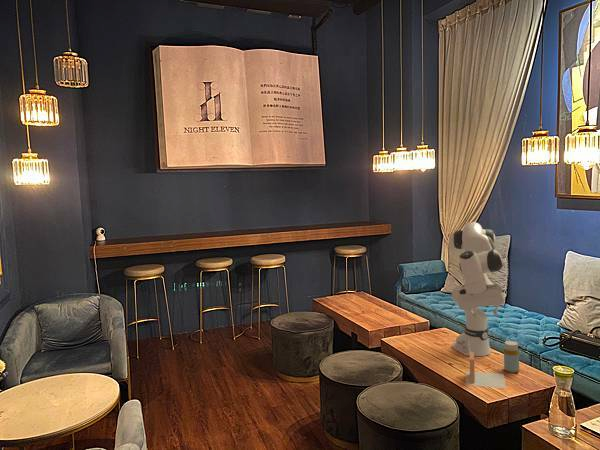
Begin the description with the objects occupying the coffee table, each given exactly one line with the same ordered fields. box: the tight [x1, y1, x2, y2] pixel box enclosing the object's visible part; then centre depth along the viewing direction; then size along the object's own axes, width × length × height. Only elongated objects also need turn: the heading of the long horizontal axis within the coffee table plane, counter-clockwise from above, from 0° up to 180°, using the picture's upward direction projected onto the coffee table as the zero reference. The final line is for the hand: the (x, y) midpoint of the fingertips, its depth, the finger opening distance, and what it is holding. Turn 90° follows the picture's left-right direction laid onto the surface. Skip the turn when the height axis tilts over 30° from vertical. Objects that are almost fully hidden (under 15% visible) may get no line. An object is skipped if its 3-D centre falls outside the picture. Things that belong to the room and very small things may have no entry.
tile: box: [469, 352, 476, 383], centre depth 240 cm, size 2×10×12 cm, turn 160°
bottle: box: [503, 340, 520, 374], centre depth 246 cm, size 7×7×15 cm
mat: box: [465, 370, 507, 389], centre depth 239 cm, size 18×16×1 cm
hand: (485, 315), depth 220 cm, fingers open, 8 cm apart
